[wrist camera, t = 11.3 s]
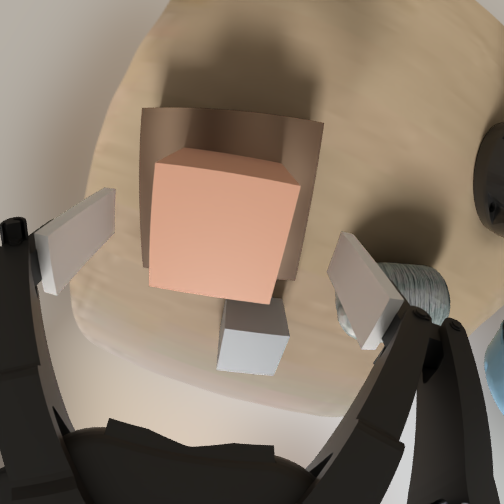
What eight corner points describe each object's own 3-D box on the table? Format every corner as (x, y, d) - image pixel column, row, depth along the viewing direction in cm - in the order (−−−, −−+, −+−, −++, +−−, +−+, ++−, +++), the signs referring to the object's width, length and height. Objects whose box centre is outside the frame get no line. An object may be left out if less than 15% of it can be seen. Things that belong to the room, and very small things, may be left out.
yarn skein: (460, 254, 25) (472, 336, 19) (420, 295, 32) (419, 366, 27) (356, 217, 26) (350, 307, 20) (328, 270, 34) (316, 345, 28)
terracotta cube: (281, 163, 19) (300, 186, 13) (261, 250, 22) (269, 304, 16) (183, 147, 18) (155, 162, 12) (173, 236, 22) (149, 286, 15)
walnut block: (308, 121, 22) (324, 122, 18) (286, 253, 28) (295, 280, 24) (160, 109, 21) (142, 108, 17) (157, 242, 27) (143, 267, 23)
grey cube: (282, 298, 30) (289, 336, 25) (269, 337, 33) (273, 375, 28) (227, 290, 30) (224, 328, 24) (219, 331, 32) (216, 369, 27)
